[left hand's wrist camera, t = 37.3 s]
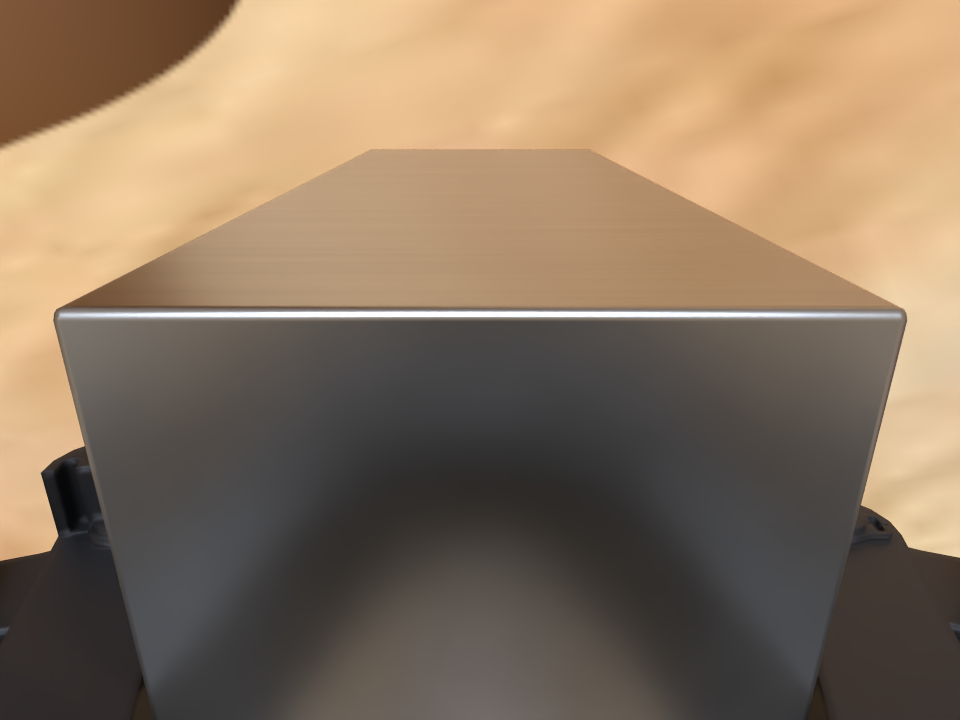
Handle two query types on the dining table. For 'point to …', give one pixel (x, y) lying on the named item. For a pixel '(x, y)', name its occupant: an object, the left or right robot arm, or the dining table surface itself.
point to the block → (480, 449)
